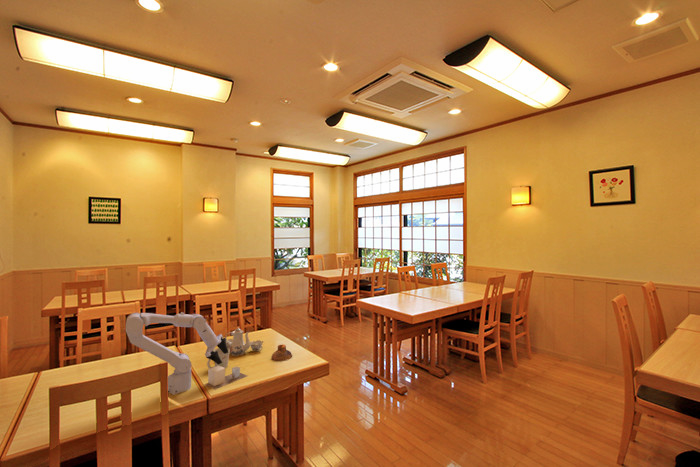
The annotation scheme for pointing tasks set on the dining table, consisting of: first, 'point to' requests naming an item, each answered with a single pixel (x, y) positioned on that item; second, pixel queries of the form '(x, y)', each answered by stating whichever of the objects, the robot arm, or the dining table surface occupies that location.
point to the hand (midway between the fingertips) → (223, 358)
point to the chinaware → (241, 343)
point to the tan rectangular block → (216, 375)
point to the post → (236, 372)
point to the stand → (226, 381)
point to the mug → (222, 356)
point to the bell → (283, 351)
